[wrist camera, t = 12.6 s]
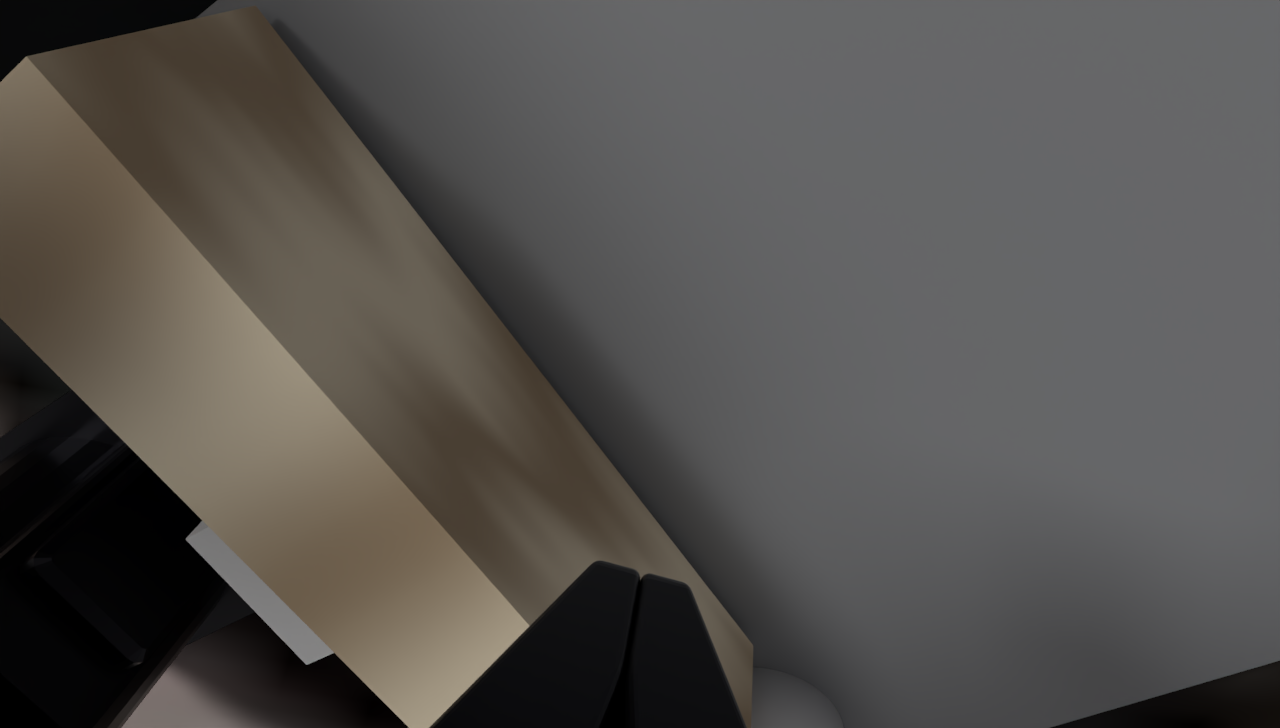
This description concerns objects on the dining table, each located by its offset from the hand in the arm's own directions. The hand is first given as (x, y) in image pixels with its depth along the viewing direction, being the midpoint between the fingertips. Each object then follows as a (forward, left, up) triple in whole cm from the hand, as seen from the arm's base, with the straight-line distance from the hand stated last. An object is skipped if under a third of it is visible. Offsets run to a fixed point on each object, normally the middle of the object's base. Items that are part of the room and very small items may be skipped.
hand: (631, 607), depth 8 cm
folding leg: (-5, 0, -8) cm, 10 cm away
